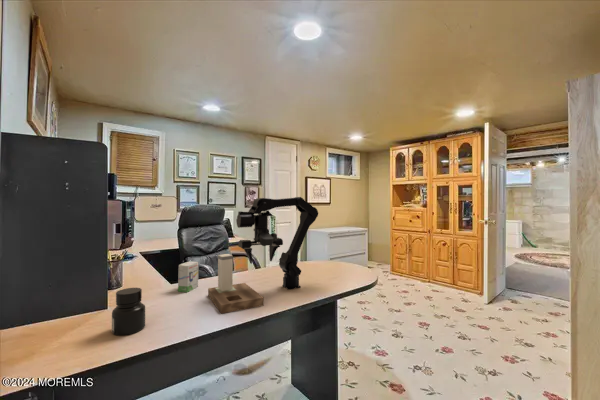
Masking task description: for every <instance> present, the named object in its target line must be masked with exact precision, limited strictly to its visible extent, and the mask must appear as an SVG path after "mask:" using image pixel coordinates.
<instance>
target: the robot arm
mask: <svg viewBox="0 0 600 400" xmlns="http://www.w3.org/2000/svg"><path fill="white" fill-rule="evenodd" d="M292 206H293V207H296V209H297V210H298V211H299V213H300V215H299V224H298V227H297V229H296V231H295V234H294V236H293V238H292V241H291V243H290V245H289V247H288V250H287V251H286V252H284V251H283V252H282V253H281V256H280V257H279V259H278V261H279V262H278V265H279V267H280V269H281V270H282V272H283V277H282V285H281V286H282V287H283V288H285V289H286V290H293V289H294V290H295V289H300V288H301V285H300V276H301V273H302V269H300V267H298V262H299V260H298V259H299V258H298V257H299V255H298V254H299V253H300V249H301V247H302V245H303V243H304V240H305V238H306V235H307V233H308V231H309V228H310V226H311V225H313V223H314V222H315V221H316V219H317V218H318V216H319V211H318V209H317V207H315V206H313V205H312V204H310V203H309V202H308V201H307V200H305V199H304V198H303V197H301V196H295V197H289V198H288V197H287V198H276V199H275V198H269V197H257V198H255V199H254V200H253V202H252V205H251V207H250V208H249V210H248V211H242V210H241V211H239V210H238V214H237V216H236V222H235V223H236V226H237V228H239V229H240V228H241V229H242V228H252V227H253V226H254V228H253V232H254V237H253V240H250V239H240V240H239V241H238V248H241V249H242V250H244V252H245V254H246V256H247V259H248V262H249V264H251V265H252V264H253V255H252V251H253V248H252V246H260V245H261V246H262V247H266V246H268V249H269V250H268V252H269V256H268V257H269V262H272V261H273V259H274V255H275V253H276V251H277V249H278V248H280V247H281V246H283V245H284V241H283V238H282V237H281V238H280V237H278V234H277V233H276V232H275V233H270V229H269V227H268V226H269V222H268V220H269V217H272V216H273V213H271V210H273V209H277V208H282V207H283V208H285V207H292Z"/></svg>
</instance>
